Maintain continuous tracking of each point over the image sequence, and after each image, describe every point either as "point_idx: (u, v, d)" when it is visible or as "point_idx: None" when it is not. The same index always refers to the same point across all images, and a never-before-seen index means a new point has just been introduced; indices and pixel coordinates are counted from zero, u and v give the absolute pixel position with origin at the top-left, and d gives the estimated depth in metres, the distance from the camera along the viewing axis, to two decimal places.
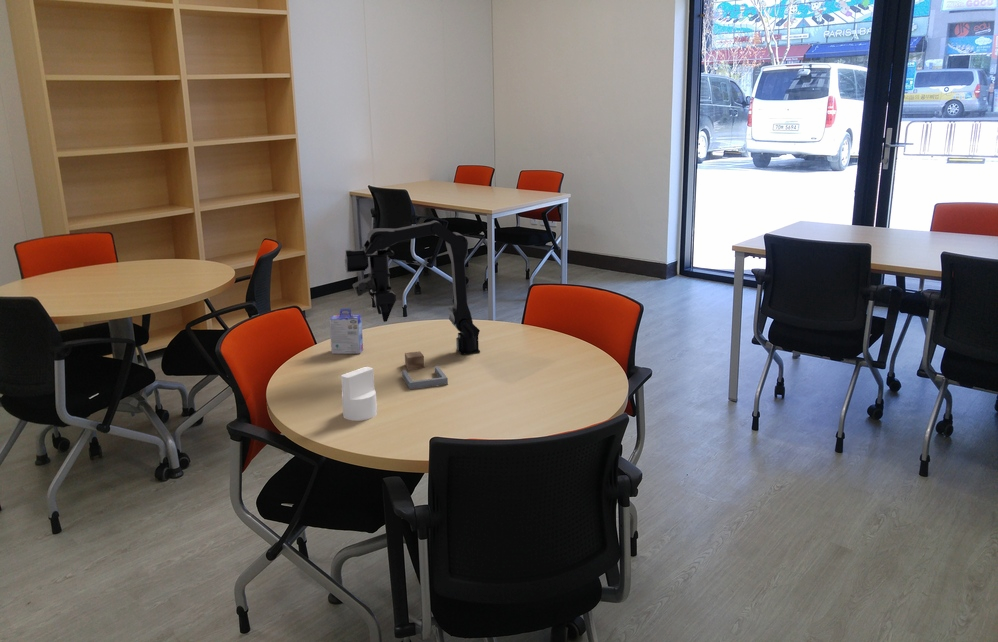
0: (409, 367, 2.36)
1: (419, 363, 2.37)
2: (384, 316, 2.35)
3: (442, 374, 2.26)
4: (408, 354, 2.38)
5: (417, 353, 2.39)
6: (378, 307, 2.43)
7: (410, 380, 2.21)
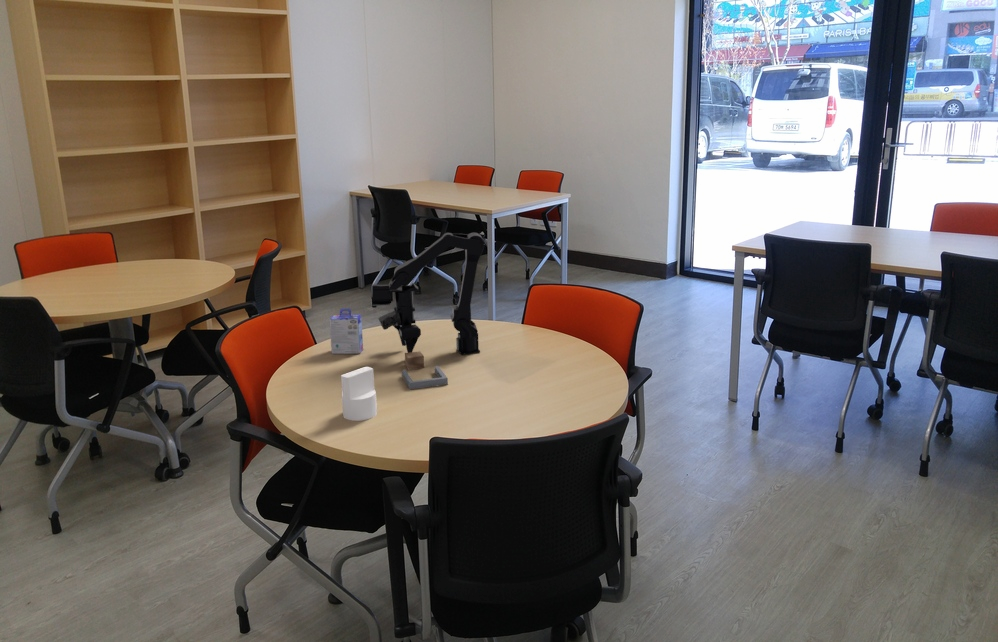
0: (409, 367, 2.36)
1: (419, 363, 2.37)
2: (409, 349, 2.44)
3: (442, 374, 2.26)
4: (408, 354, 2.38)
5: (417, 353, 2.39)
6: (402, 339, 2.53)
7: (410, 380, 2.21)
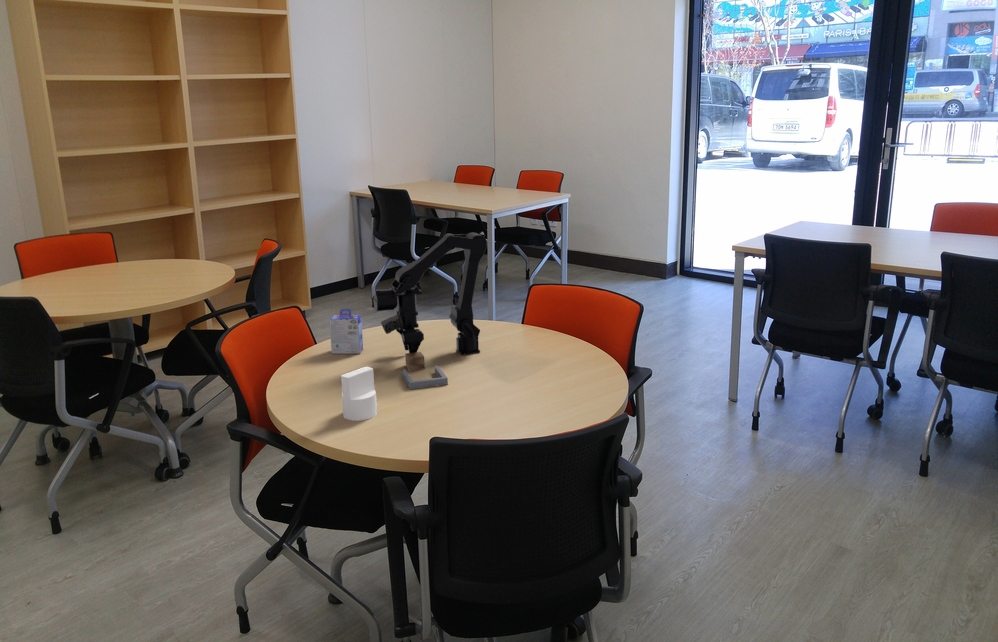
0: (409, 368, 2.35)
1: (420, 364, 2.36)
2: None
3: (442, 374, 2.26)
4: (408, 355, 2.37)
5: (417, 353, 2.38)
6: (405, 343, 2.48)
7: (410, 380, 2.21)
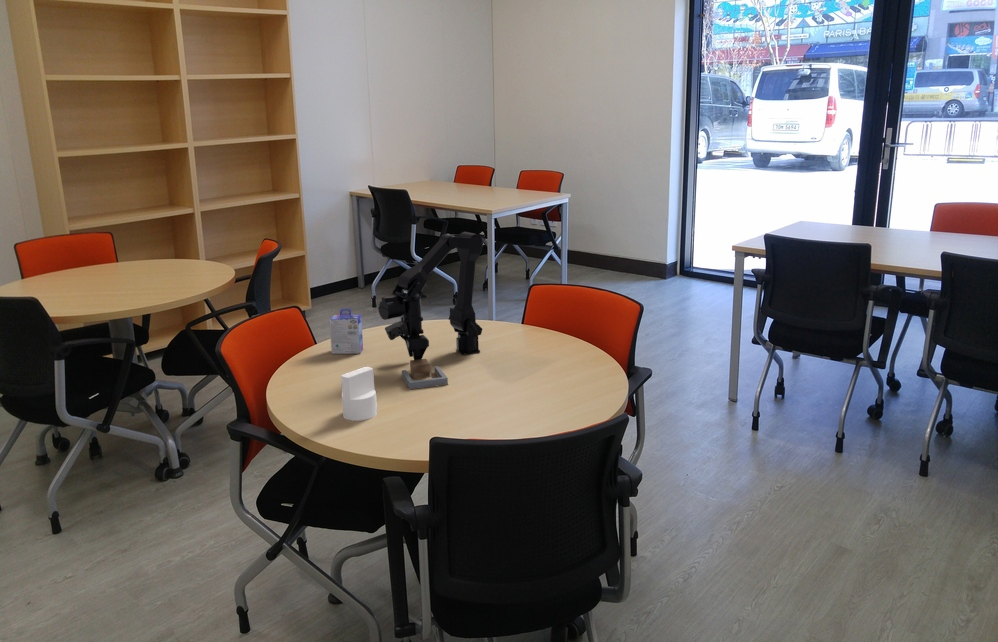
0: (414, 375, 2.29)
1: (425, 371, 2.29)
2: None
3: (442, 374, 2.26)
4: (413, 362, 2.31)
5: (423, 360, 2.32)
6: (409, 350, 2.42)
7: (410, 380, 2.21)
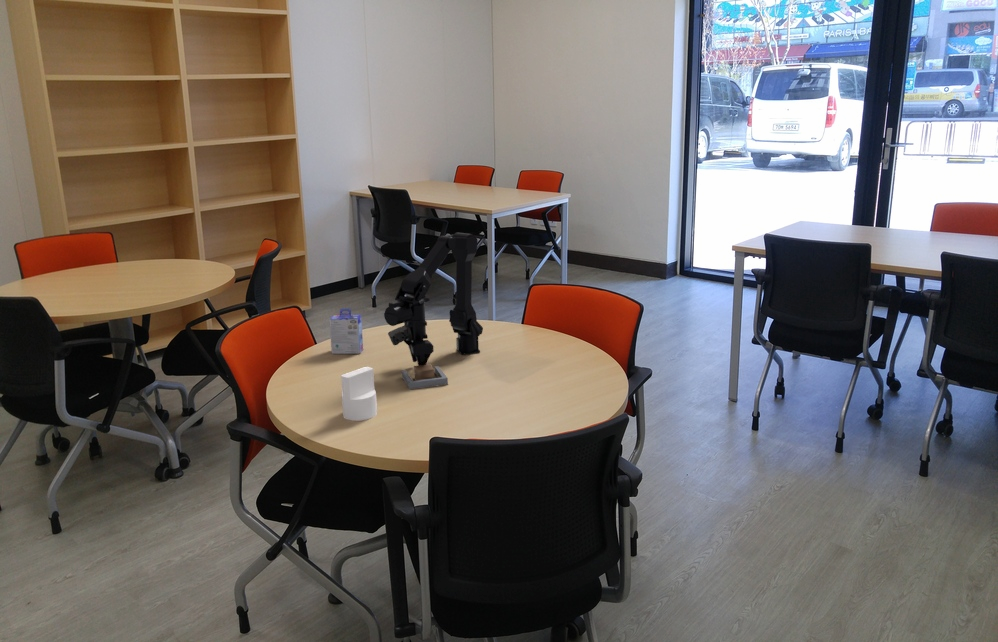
0: None
1: (430, 377, 2.25)
2: None
3: (442, 374, 2.26)
4: (417, 367, 2.26)
5: (427, 366, 2.27)
6: (413, 355, 2.37)
7: (410, 380, 2.21)
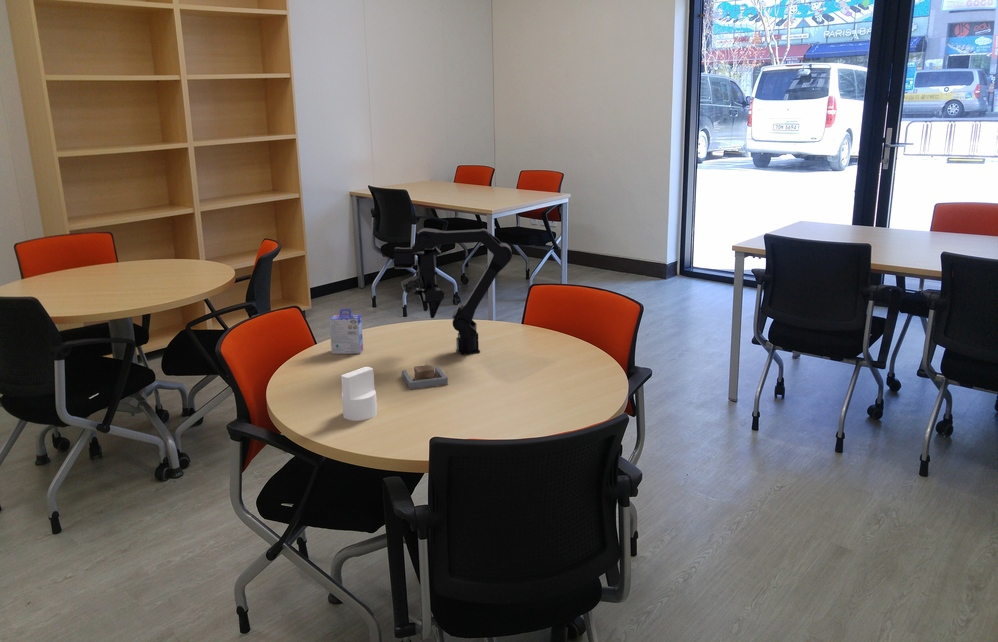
0: None
1: (430, 377, 2.25)
2: (431, 313, 2.43)
3: (442, 374, 2.26)
4: (418, 368, 2.26)
5: (427, 366, 2.27)
6: (424, 304, 2.52)
7: (410, 380, 2.21)
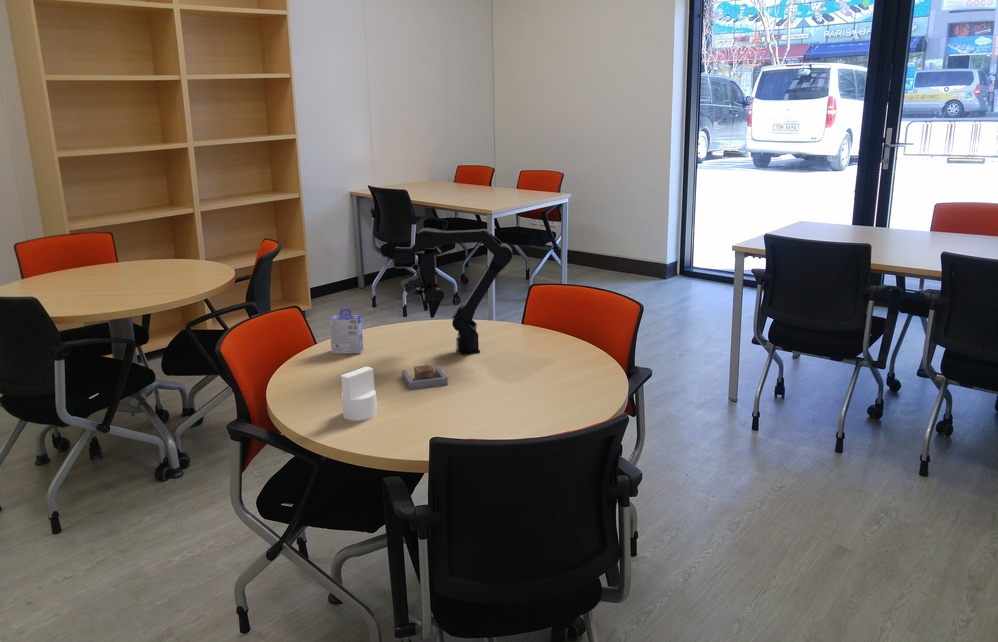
0: None
1: (430, 377, 2.25)
2: (431, 312, 2.43)
3: (442, 374, 2.26)
4: (418, 368, 2.26)
5: (427, 366, 2.27)
6: (424, 304, 2.52)
7: (410, 380, 2.21)
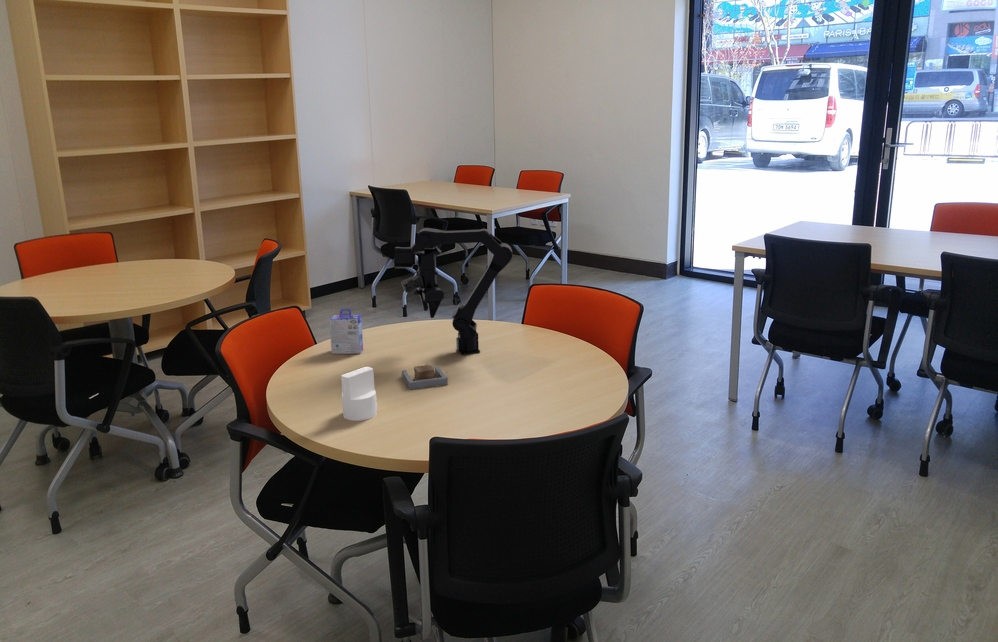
0: None
1: (430, 377, 2.25)
2: (431, 312, 2.43)
3: (442, 374, 2.26)
4: (418, 368, 2.26)
5: (427, 366, 2.27)
6: (424, 304, 2.52)
7: (410, 380, 2.21)
